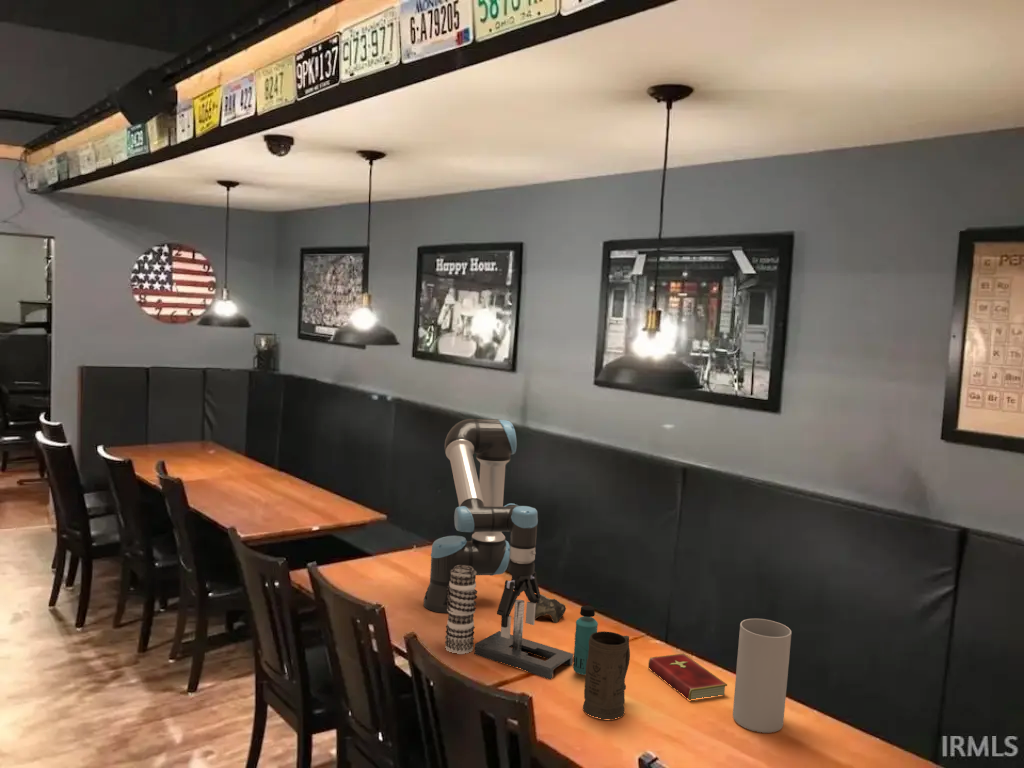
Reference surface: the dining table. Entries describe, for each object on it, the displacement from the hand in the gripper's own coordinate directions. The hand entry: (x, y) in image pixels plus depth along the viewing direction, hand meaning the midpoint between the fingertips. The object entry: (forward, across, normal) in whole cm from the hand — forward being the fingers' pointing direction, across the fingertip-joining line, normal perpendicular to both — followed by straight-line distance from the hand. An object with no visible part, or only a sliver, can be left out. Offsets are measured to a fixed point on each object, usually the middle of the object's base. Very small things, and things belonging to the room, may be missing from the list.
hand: (517, 630), depth 241 cm
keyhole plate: (+8, 0, -2) cm, 8 cm away
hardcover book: (+9, +17, -46) cm, 50 cm away
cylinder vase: (+8, +7, -69) cm, 70 cm away
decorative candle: (+8, -6, +17) cm, 20 cm away
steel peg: (+8, 0, 0) cm, 8 cm away
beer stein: (+8, -11, -35) cm, 38 cm away
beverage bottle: (+8, +2, -21) cm, 23 cm away
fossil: (+8, +35, +9) cm, 37 cm away
